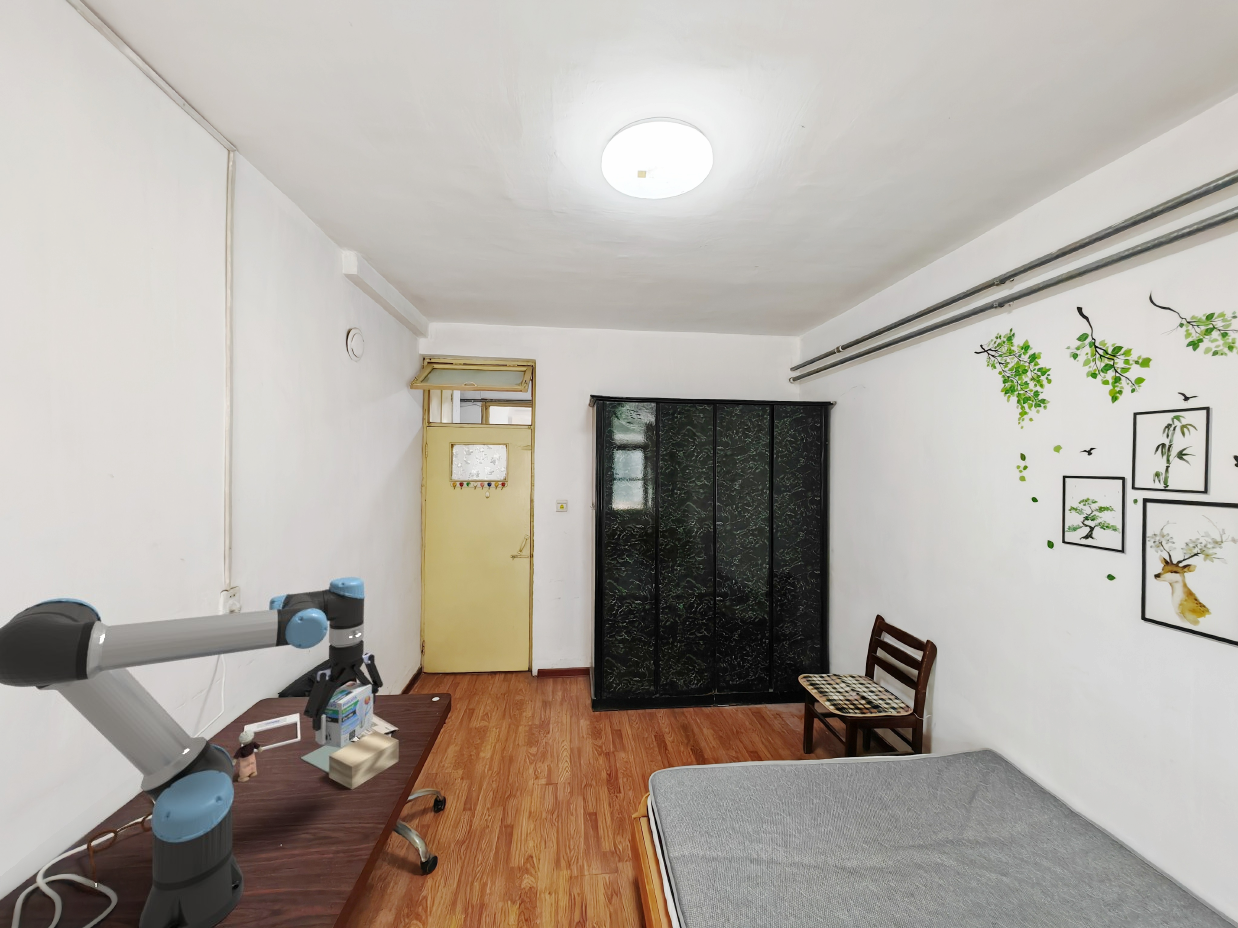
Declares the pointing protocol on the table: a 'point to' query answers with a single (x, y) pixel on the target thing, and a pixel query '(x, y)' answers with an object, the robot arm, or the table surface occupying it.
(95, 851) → the glasses
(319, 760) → the rubber mat
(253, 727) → the photo frame
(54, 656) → the robot arm
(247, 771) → the grandmother figurine
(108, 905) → the table surface
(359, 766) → the beech step
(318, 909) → the table surface
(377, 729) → the newspaper
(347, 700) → the light bulb box
